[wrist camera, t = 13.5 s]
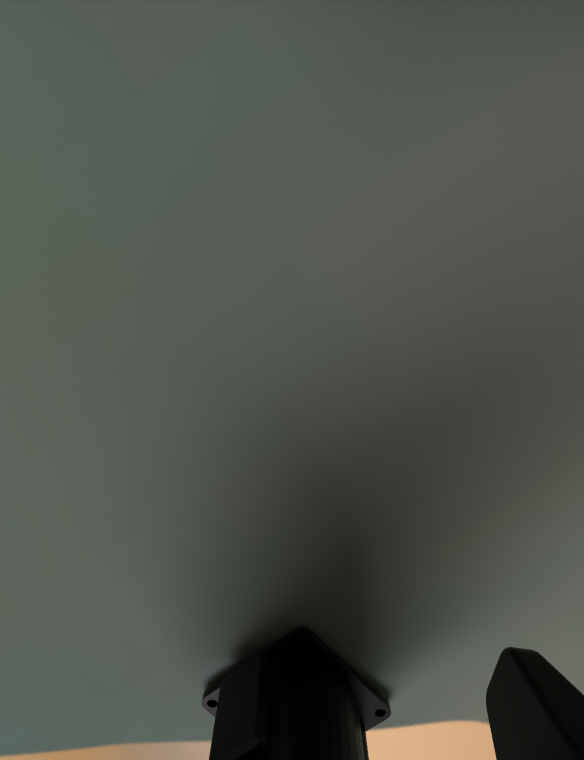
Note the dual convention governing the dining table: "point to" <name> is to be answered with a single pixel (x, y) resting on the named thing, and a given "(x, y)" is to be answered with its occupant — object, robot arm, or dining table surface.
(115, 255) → the dining table surface
